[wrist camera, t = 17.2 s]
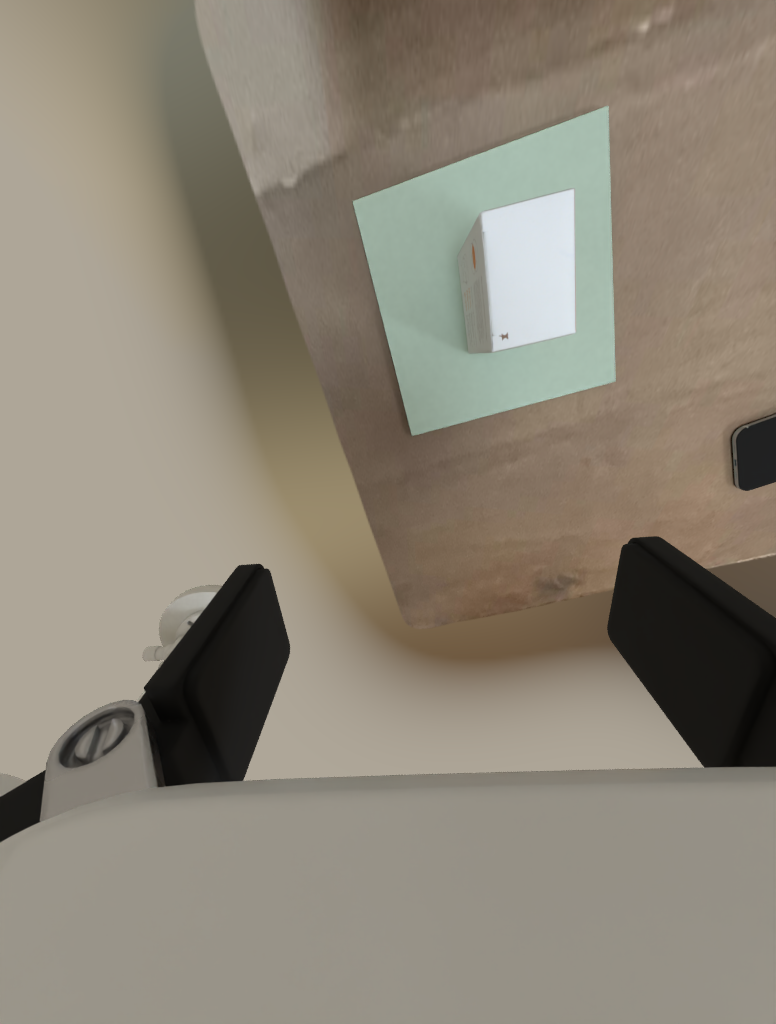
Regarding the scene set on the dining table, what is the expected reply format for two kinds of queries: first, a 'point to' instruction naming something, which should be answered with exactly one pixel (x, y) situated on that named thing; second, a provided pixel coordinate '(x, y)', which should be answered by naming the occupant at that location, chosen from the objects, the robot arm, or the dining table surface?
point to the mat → (436, 281)
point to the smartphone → (755, 454)
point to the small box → (520, 274)
